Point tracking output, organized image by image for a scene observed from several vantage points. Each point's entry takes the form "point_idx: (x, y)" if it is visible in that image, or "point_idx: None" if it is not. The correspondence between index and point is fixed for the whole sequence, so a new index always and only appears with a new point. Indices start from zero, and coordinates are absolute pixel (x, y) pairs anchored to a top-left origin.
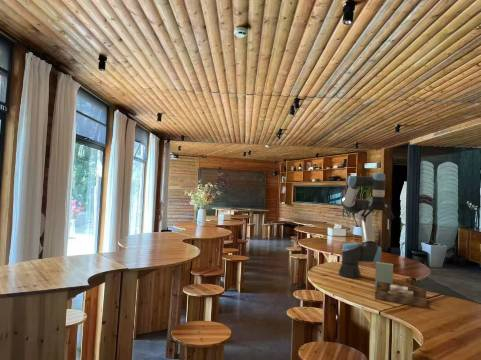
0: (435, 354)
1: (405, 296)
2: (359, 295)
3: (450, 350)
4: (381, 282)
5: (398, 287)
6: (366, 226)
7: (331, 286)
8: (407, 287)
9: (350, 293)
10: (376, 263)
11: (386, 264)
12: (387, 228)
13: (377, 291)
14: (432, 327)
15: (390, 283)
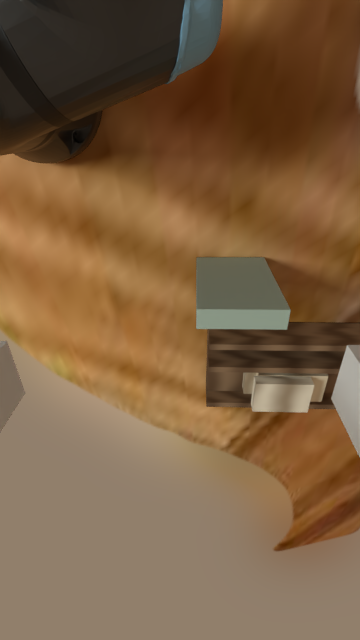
0: (296, 545)
1: None
2: (160, 379)
3: (322, 533)
4: (224, 349)
5: (280, 403)
6: (15, 403)
7: (58, 340)
8: (312, 389)
9: (133, 376)
10: (199, 326)
11: (252, 328)
12: (336, 409)
13: (213, 405)
14: (320, 481)
15: (257, 347)
